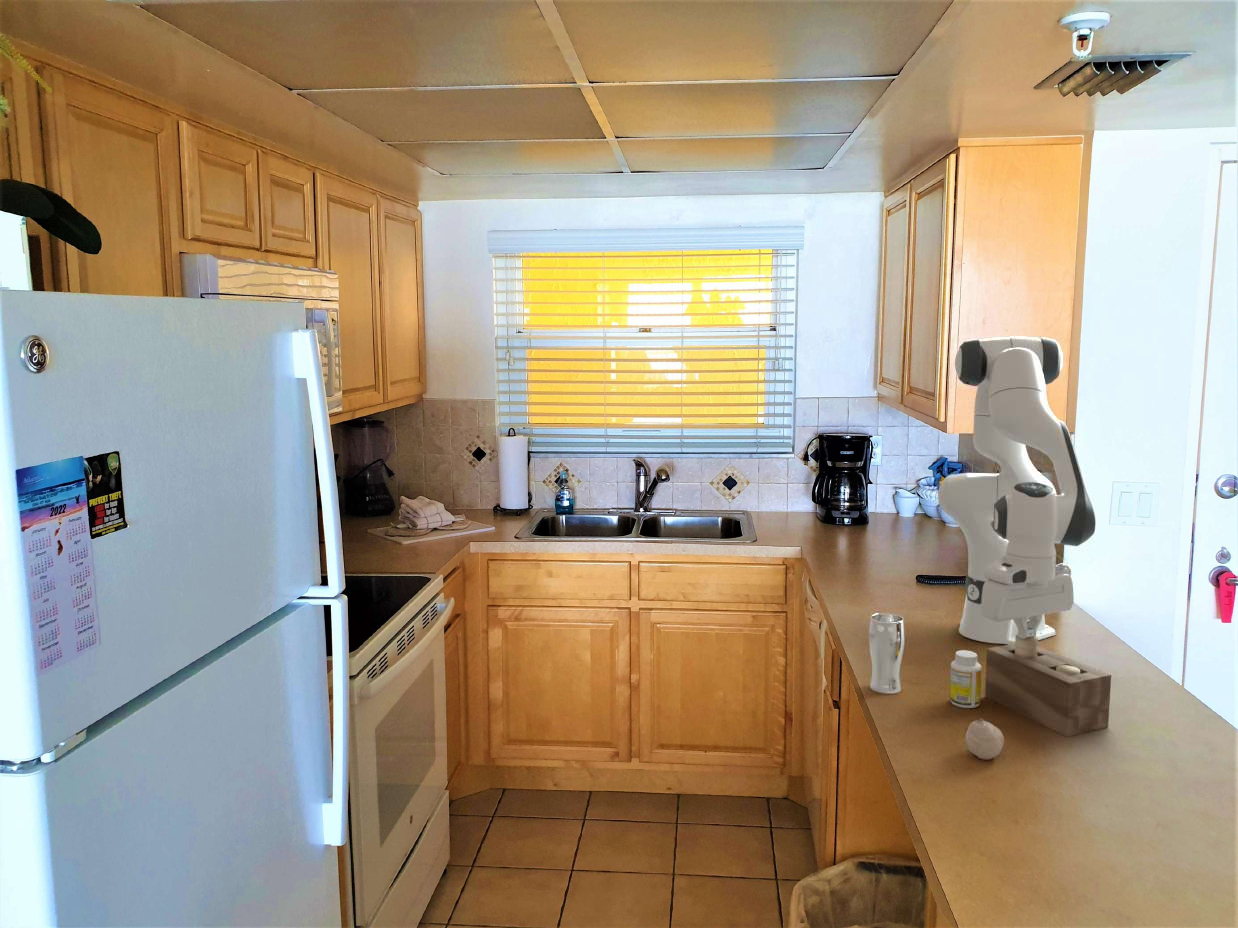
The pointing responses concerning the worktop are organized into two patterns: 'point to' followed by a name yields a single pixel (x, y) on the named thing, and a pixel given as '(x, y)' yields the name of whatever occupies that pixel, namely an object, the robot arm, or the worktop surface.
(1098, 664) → the worktop surface
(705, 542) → the worktop surface
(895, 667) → the beer glass
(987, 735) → the garlic bulb
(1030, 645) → the peg
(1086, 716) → the block
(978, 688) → the supplement bottle
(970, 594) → the robot arm
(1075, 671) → the peg
